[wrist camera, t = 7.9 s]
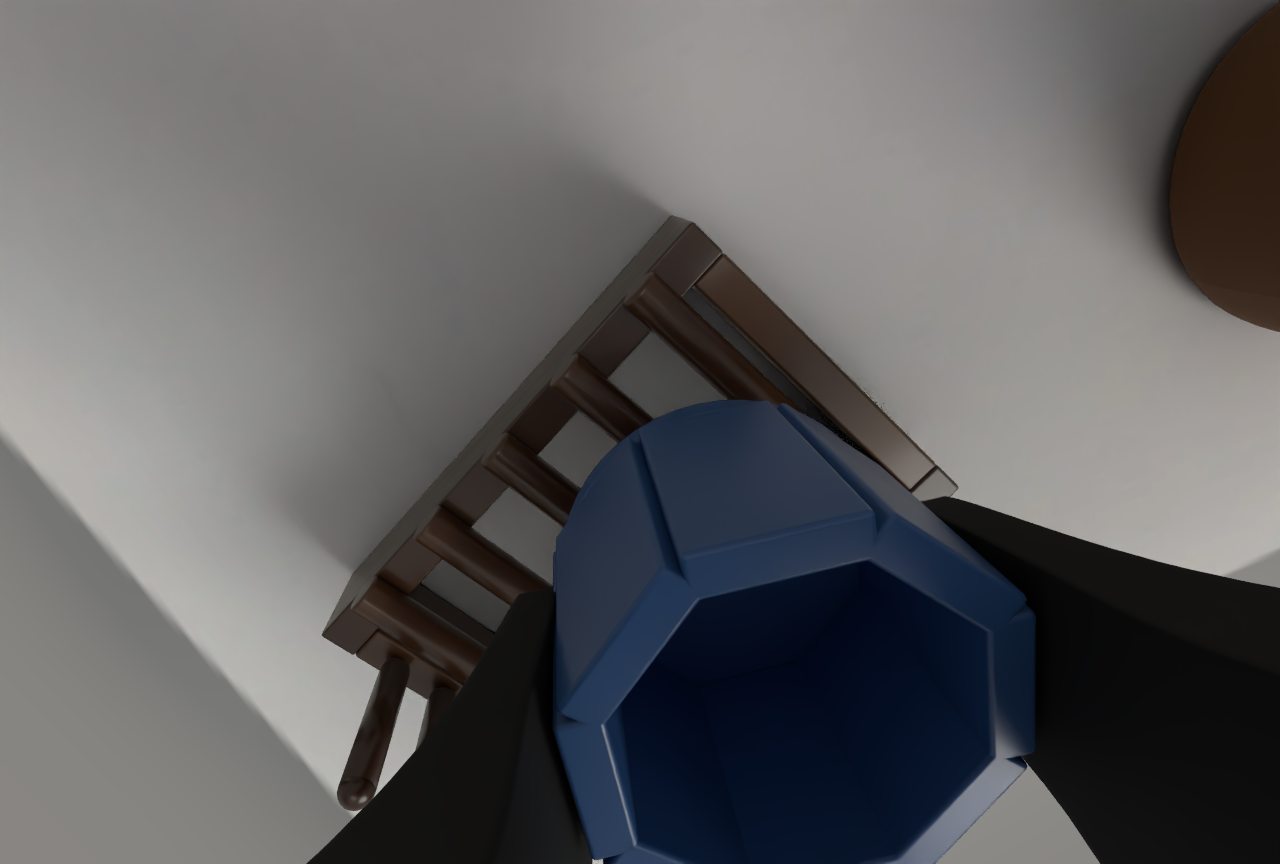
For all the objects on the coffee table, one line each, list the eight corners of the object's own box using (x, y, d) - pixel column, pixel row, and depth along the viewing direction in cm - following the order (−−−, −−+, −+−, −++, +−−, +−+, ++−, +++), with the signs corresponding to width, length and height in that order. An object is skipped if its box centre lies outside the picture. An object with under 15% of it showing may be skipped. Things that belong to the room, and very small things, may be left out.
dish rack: (908, 447, 17) (1077, 578, 12) (604, 738, 19) (625, 971, 14) (672, 214, 15) (742, 237, 9) (351, 574, 17) (249, 774, 11)
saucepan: (526, 441, 11) (510, 594, 7) (864, 365, 12) (1039, 473, 7) (622, 794, 14) (650, 1058, 10) (895, 728, 14) (1037, 958, 10)
